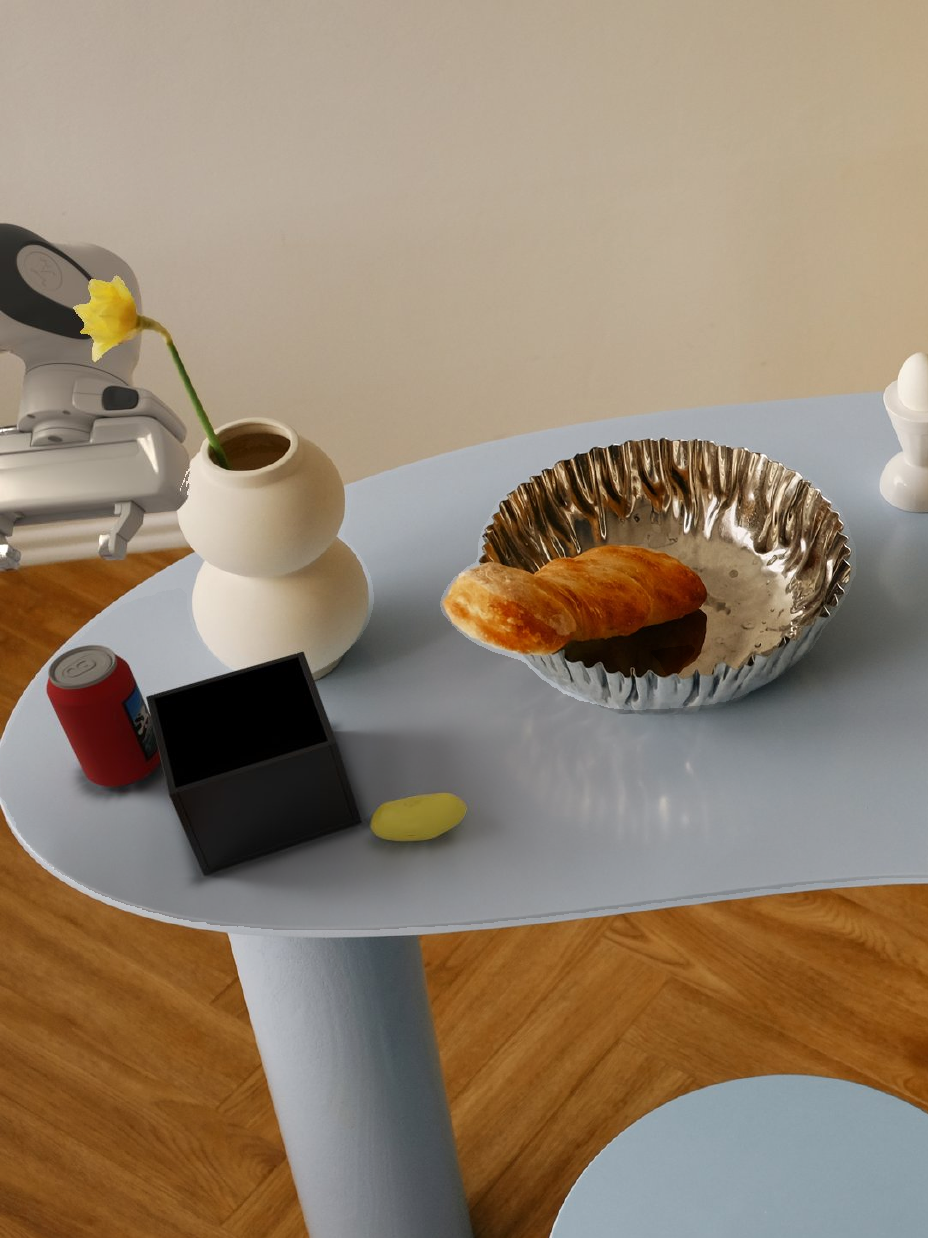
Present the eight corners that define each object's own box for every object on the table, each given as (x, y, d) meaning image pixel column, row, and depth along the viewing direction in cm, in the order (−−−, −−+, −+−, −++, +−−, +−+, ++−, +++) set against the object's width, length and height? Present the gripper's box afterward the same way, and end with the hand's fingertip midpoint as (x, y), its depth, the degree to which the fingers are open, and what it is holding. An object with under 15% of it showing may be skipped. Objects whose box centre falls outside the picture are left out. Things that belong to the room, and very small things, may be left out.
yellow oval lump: (376, 820, 130) (367, 788, 128) (470, 809, 131) (463, 777, 129) (373, 856, 127) (363, 824, 124) (469, 844, 128) (461, 812, 125)
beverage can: (181, 762, 135) (140, 661, 128) (112, 804, 132) (65, 702, 124) (140, 730, 139) (97, 629, 131) (72, 770, 135) (23, 668, 127)
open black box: (203, 875, 125) (168, 794, 119) (179, 776, 134) (145, 696, 128) (362, 823, 130) (336, 742, 124) (328, 730, 139) (303, 650, 132)
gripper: (-61, 413, 130) (-85, 559, 125) (168, 389, 128) (153, 535, 124) (-15, 448, 136) (-37, 588, 131) (204, 426, 134) (191, 567, 130)
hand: (57, 563), depth 127 cm, fingers open, 8 cm apart
